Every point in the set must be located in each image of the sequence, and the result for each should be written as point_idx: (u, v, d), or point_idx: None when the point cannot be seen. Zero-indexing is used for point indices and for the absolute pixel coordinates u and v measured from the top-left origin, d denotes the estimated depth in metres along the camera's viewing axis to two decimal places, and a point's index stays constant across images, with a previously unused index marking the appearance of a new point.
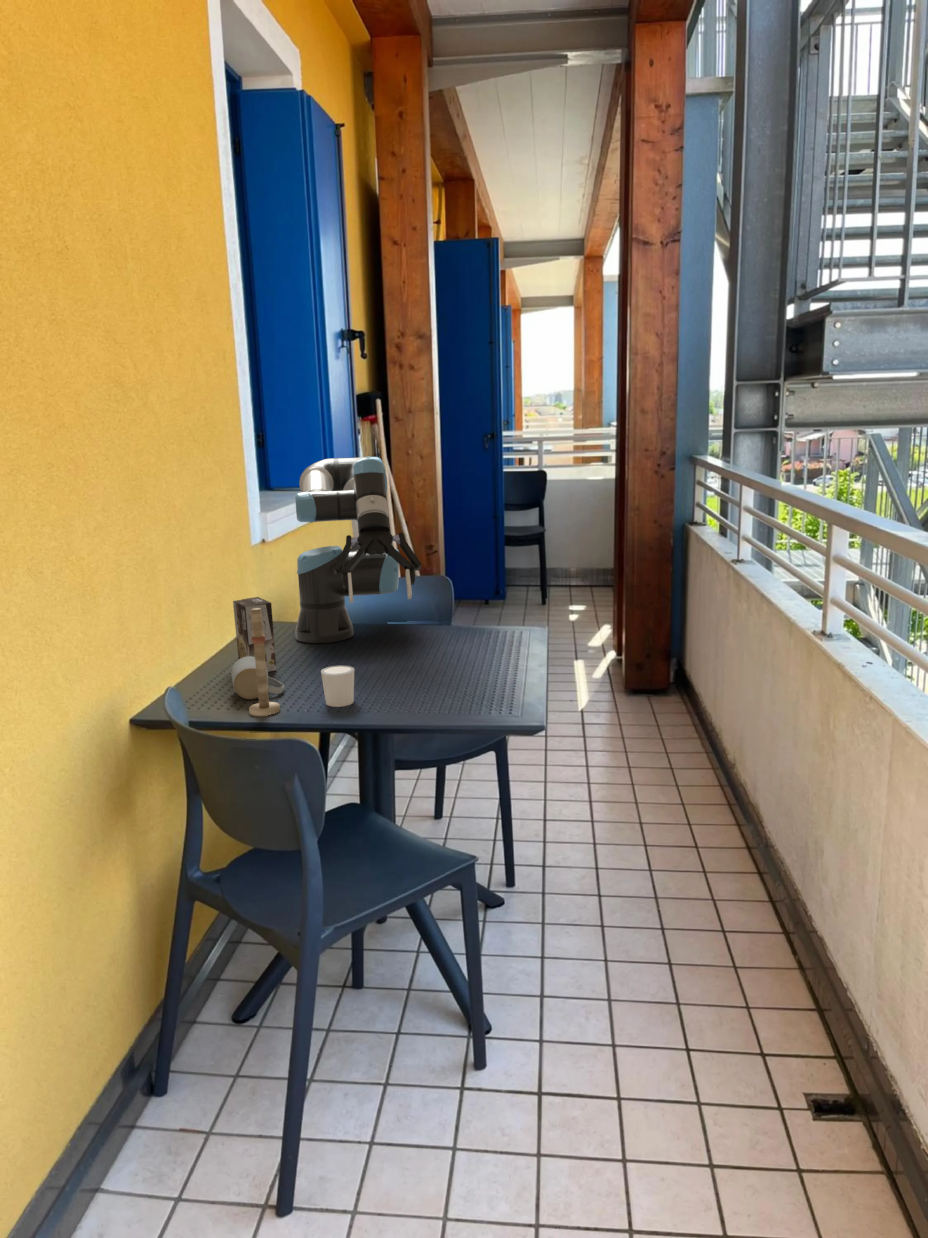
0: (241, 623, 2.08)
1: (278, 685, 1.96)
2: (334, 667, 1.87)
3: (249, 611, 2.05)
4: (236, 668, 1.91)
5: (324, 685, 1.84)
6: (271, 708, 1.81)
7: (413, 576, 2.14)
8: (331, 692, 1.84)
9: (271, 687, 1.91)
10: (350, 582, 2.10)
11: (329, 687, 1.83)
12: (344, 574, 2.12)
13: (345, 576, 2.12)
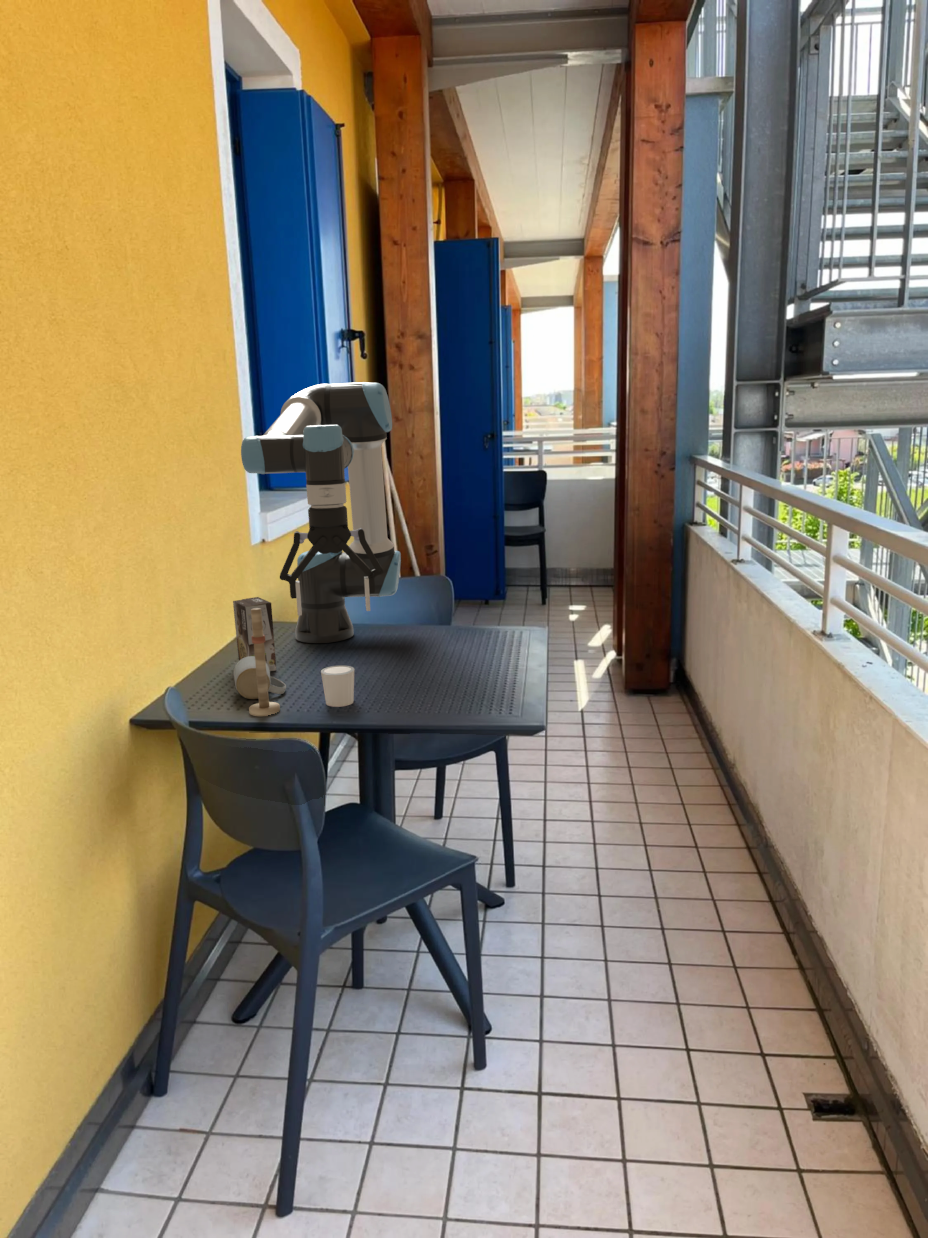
0: (241, 623, 2.08)
1: (280, 685, 1.96)
2: (334, 667, 1.87)
3: (249, 611, 2.05)
4: (238, 668, 1.91)
5: (324, 685, 1.84)
6: (271, 708, 1.81)
7: (373, 586, 1.82)
8: (331, 692, 1.84)
9: (273, 687, 1.91)
10: (298, 595, 1.79)
11: (329, 687, 1.83)
12: (291, 583, 1.79)
13: (292, 586, 1.79)
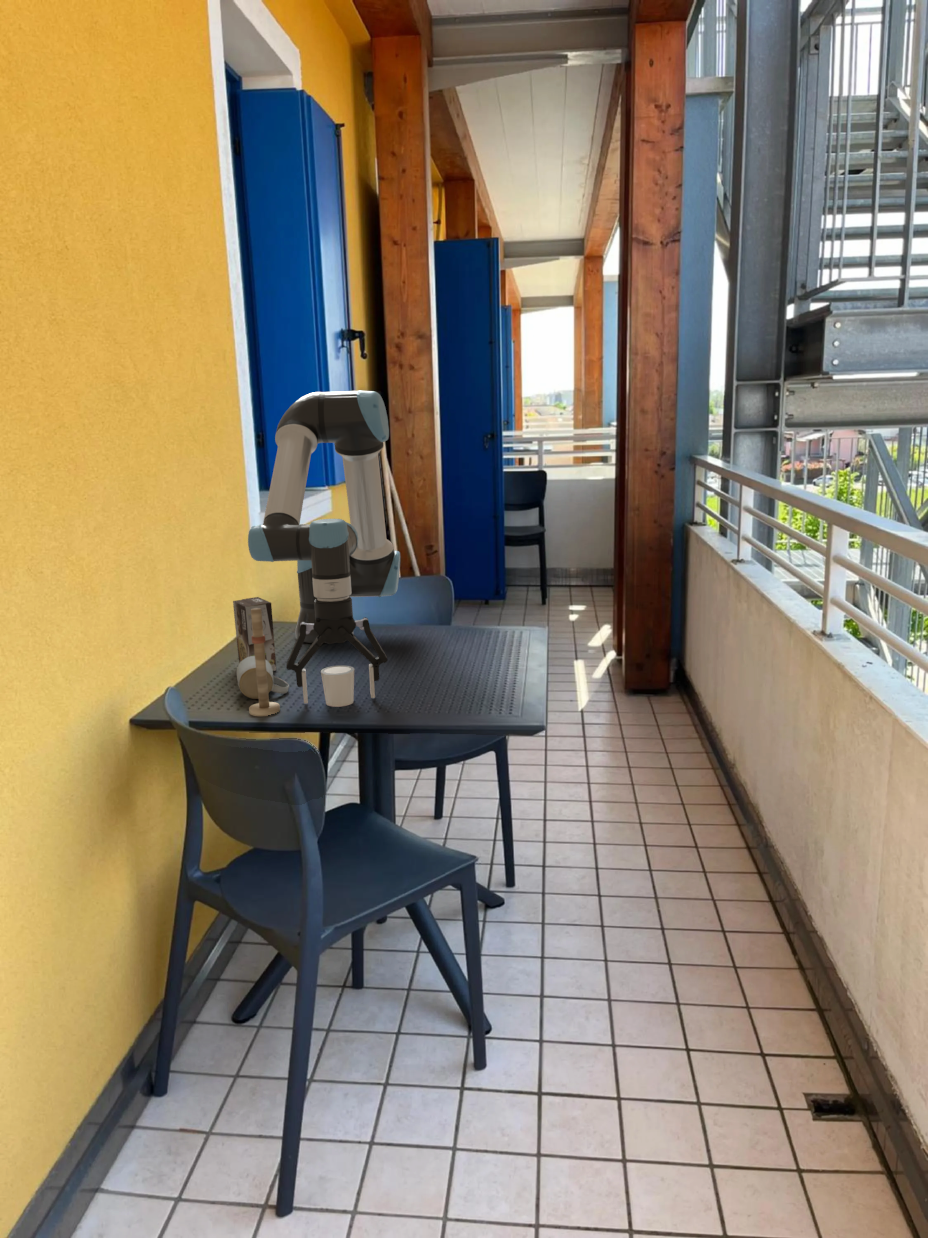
0: (241, 623, 2.08)
1: (283, 684, 1.96)
2: (334, 667, 1.87)
3: (249, 611, 2.05)
4: (241, 667, 1.91)
5: (324, 685, 1.84)
6: (271, 708, 1.81)
7: (377, 673, 1.86)
8: (331, 692, 1.84)
9: (276, 686, 1.91)
10: (304, 684, 1.84)
11: (329, 686, 1.83)
12: (298, 672, 1.83)
13: (299, 675, 1.84)
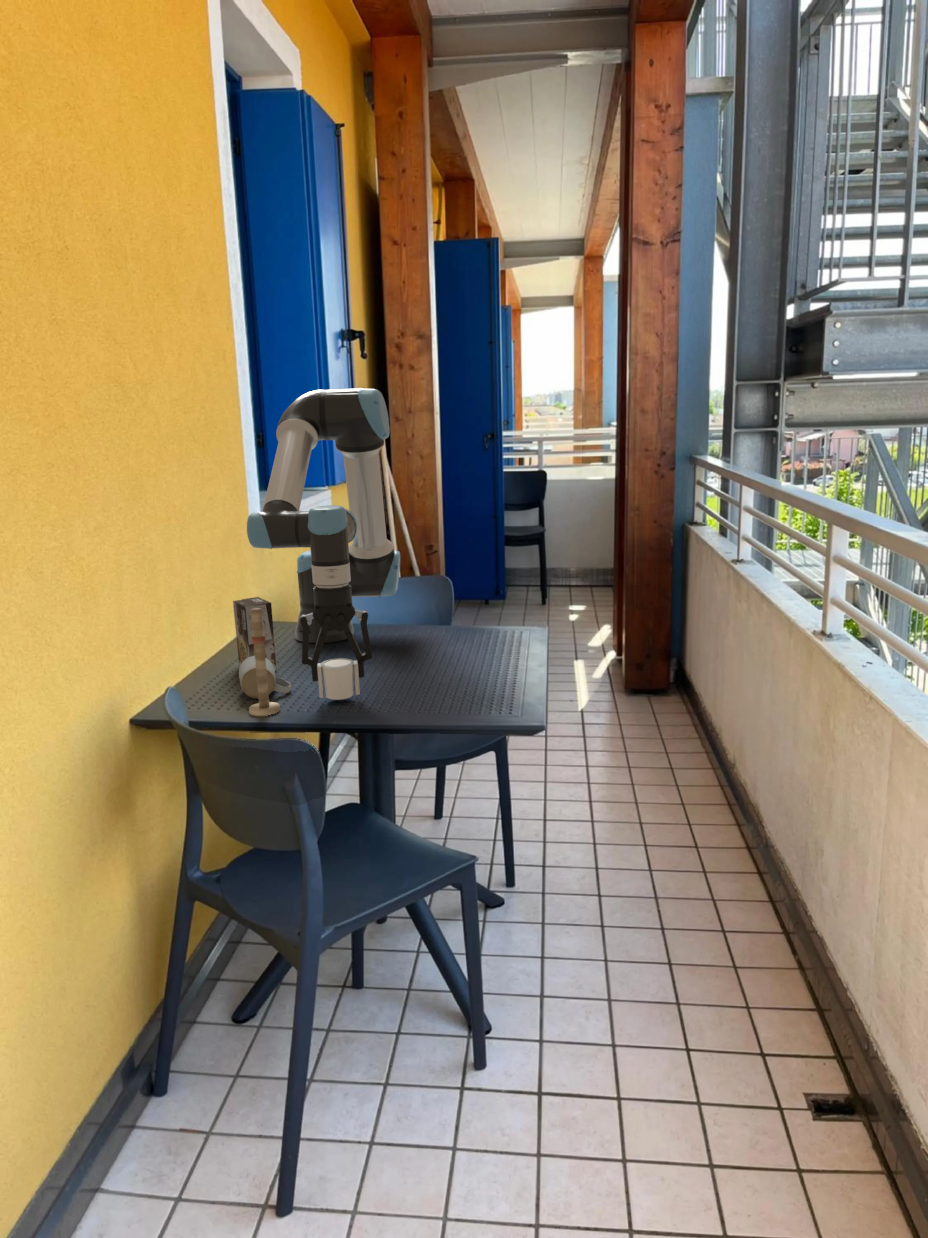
0: (241, 623, 2.08)
1: (285, 684, 1.96)
2: (334, 660, 1.87)
3: (249, 611, 2.05)
4: (243, 667, 1.91)
5: (324, 678, 1.85)
6: (271, 708, 1.81)
7: (362, 670, 1.86)
8: (331, 685, 1.84)
9: (278, 686, 1.92)
10: (320, 679, 1.84)
11: (329, 680, 1.83)
12: (314, 667, 1.84)
13: (314, 669, 1.84)
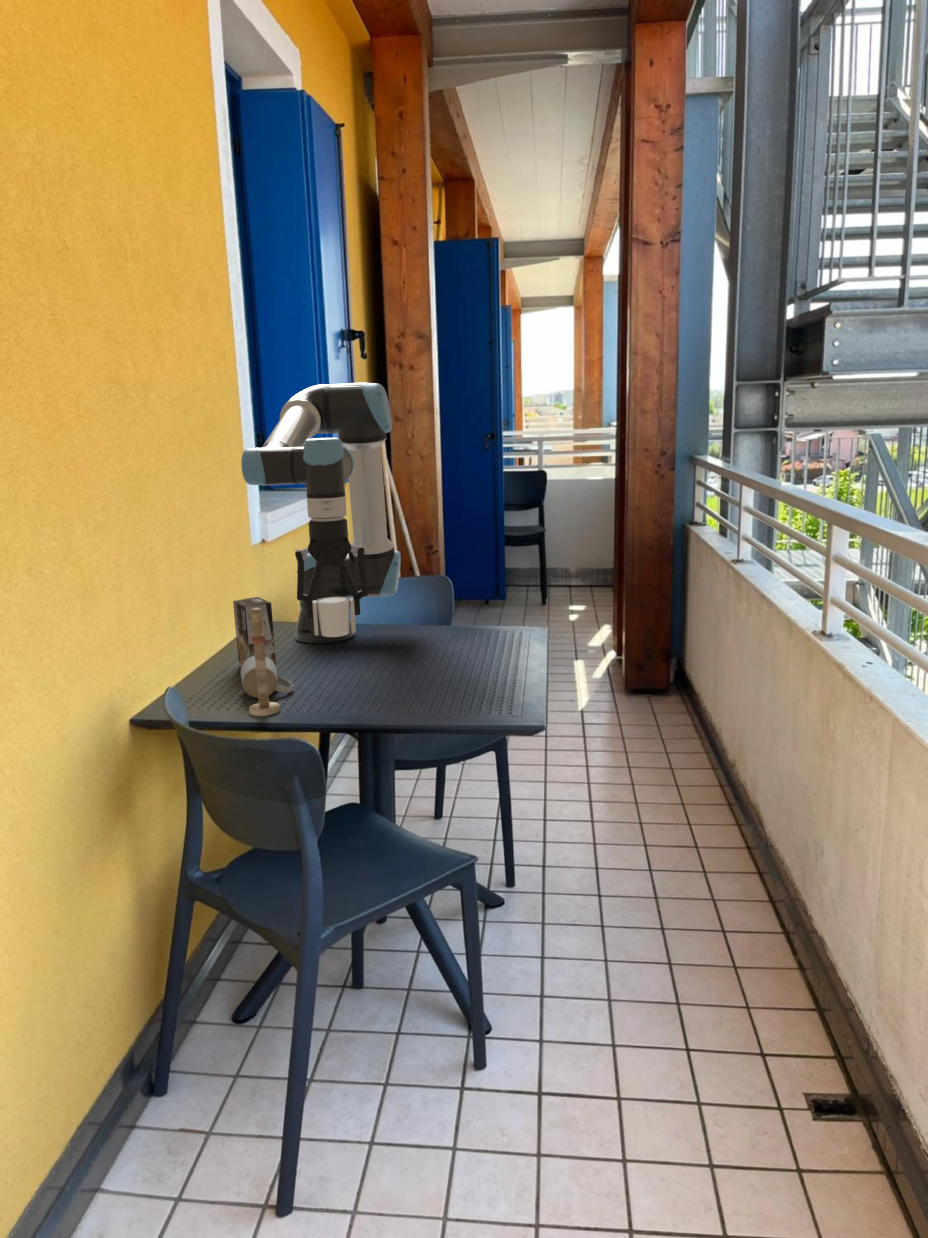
0: (241, 623, 2.08)
1: (287, 684, 1.97)
2: (329, 598, 1.84)
3: (249, 611, 2.05)
4: (245, 667, 1.92)
5: (319, 615, 1.81)
6: (271, 708, 1.81)
7: (358, 608, 1.83)
8: (326, 622, 1.80)
9: (280, 686, 1.92)
10: (315, 615, 1.81)
11: (325, 616, 1.80)
12: (310, 603, 1.81)
13: (309, 606, 1.81)
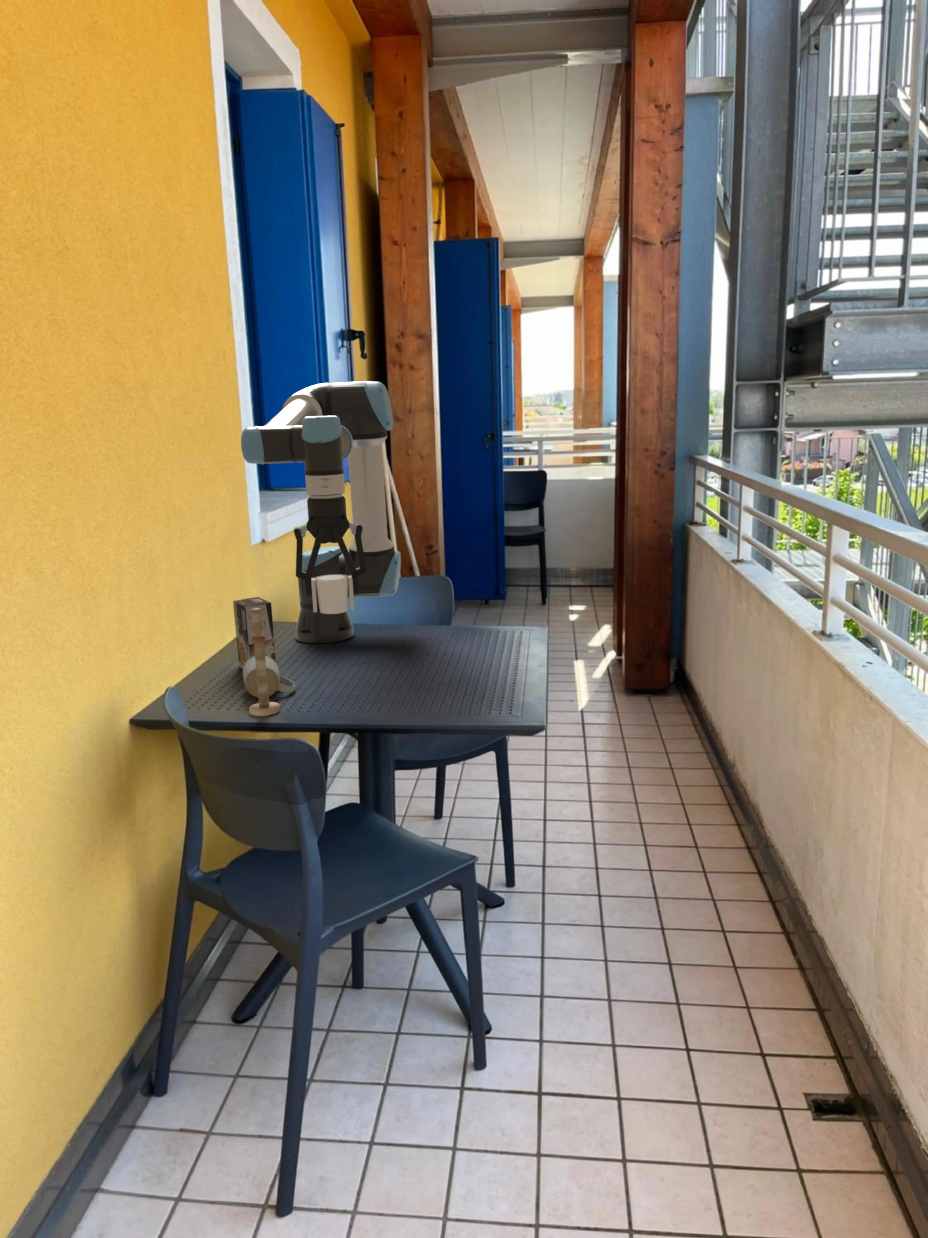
0: (241, 623, 2.08)
1: (289, 684, 1.97)
2: (328, 575, 1.85)
3: (249, 611, 2.05)
4: (247, 667, 1.92)
5: (318, 592, 1.83)
6: (271, 708, 1.81)
7: (357, 585, 1.84)
8: (325, 599, 1.82)
9: (282, 686, 1.92)
10: (314, 592, 1.82)
11: (323, 593, 1.82)
12: (308, 580, 1.82)
13: (308, 583, 1.82)
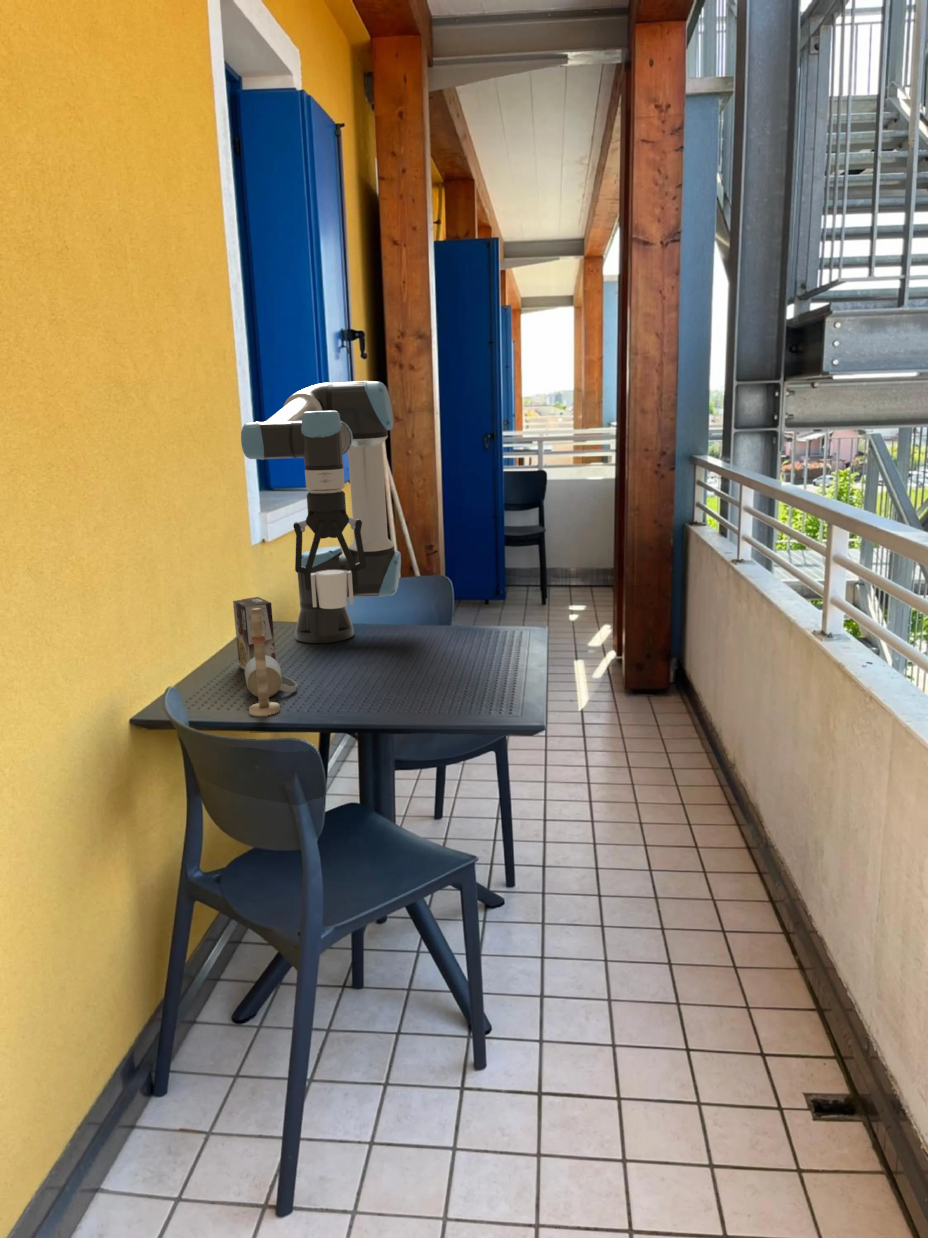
0: (241, 623, 2.08)
1: (291, 684, 1.97)
2: (327, 571, 1.86)
3: (249, 611, 2.05)
4: (249, 667, 1.92)
5: (317, 587, 1.83)
6: (271, 708, 1.81)
7: (356, 580, 1.84)
8: (324, 594, 1.82)
9: (284, 686, 1.92)
10: (313, 587, 1.82)
11: (323, 588, 1.82)
12: (308, 575, 1.82)
13: (308, 578, 1.82)
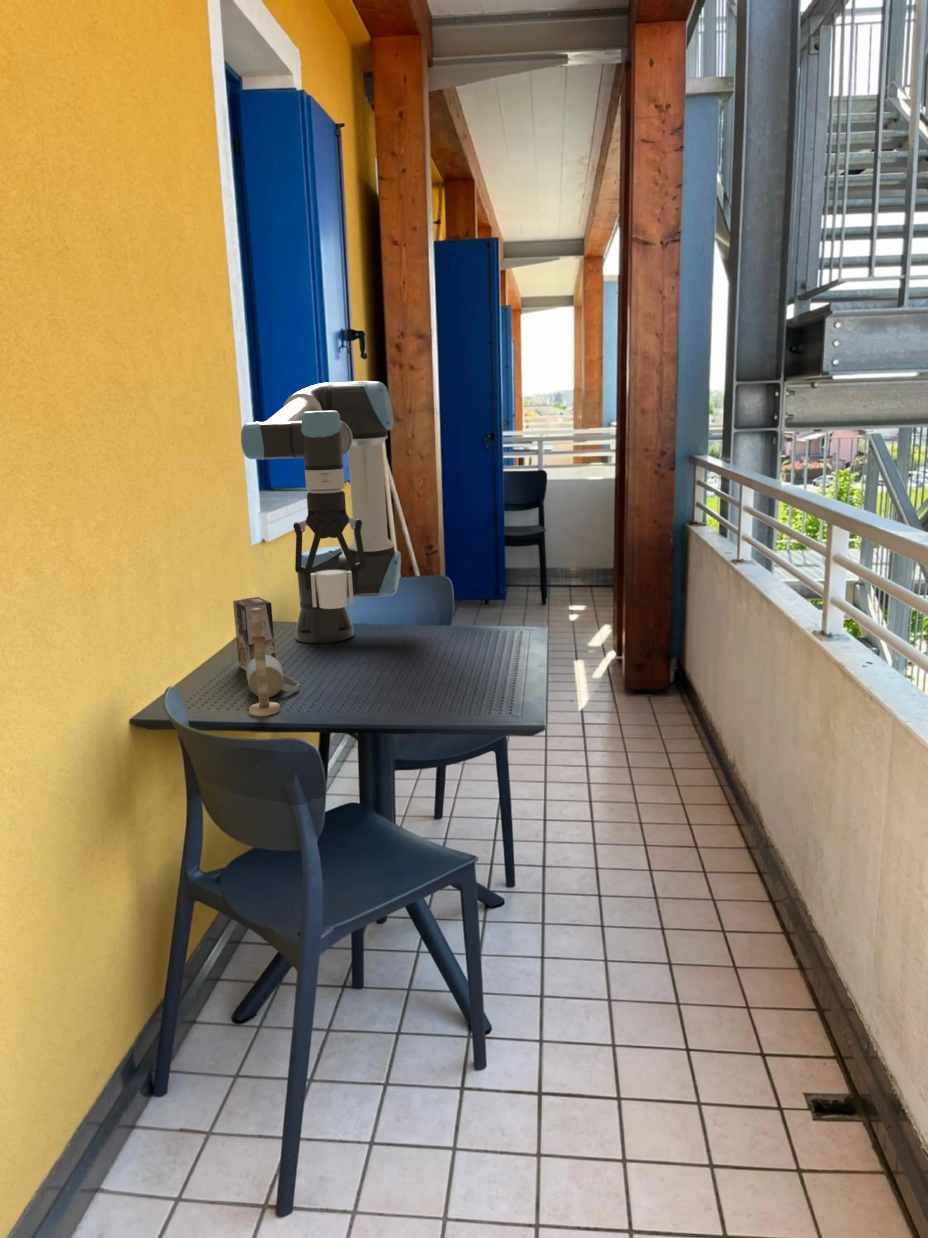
0: (241, 623, 2.08)
1: (293, 684, 1.97)
2: (327, 571, 1.86)
3: (249, 611, 2.05)
4: (251, 666, 1.92)
5: (317, 587, 1.83)
6: (271, 708, 1.81)
7: (356, 580, 1.84)
8: (324, 594, 1.82)
9: (286, 685, 1.92)
10: (313, 587, 1.82)
11: (323, 588, 1.82)
12: (308, 575, 1.82)
13: (308, 578, 1.82)
